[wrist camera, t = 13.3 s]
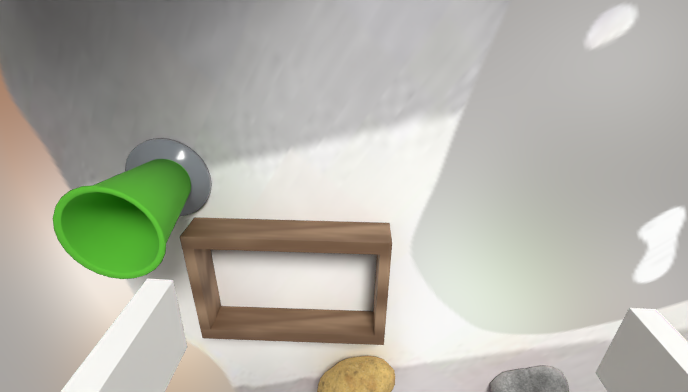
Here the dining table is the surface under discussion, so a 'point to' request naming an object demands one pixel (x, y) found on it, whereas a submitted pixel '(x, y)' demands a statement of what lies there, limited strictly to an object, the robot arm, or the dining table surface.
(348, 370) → the potato
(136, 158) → the coaster
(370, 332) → the pocket frame
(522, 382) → the figurine
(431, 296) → the dining table surface
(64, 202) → the cup
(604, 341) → the dining table surface
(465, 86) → the dining table surface
